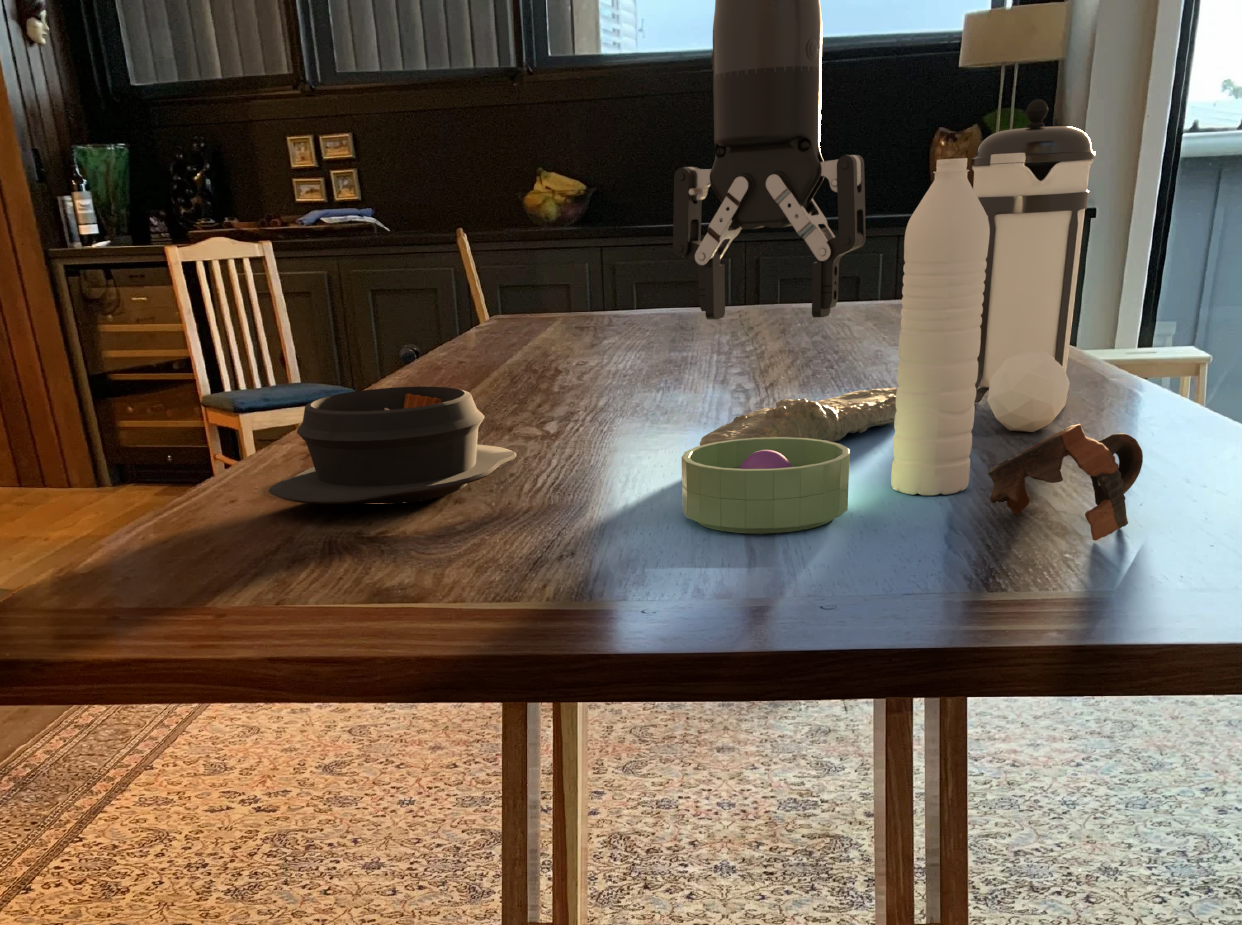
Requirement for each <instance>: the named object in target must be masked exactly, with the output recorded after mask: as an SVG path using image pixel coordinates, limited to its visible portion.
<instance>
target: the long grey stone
mask: <svg viewBox="0 0 1242 925" xmlns="http://www.w3.org/2000/svg"><path fill="white" fill-rule="evenodd" d="M897 389H898V387H889V388H872V389H868V390H856V391H855V390H854V391H850V392H848V393H843V394H841V395H839V396H835V397H830V398H824V399H820V400H816V401H814V400H807V399H806V398H805V397H803V398H801V399H799V398H796V399H790V398H785V399H780V400H778V401H775V406H776V407H770V408H765V407H764V408H763V407H762V408H760V409H757V410H754V411H752V412H749V413H746V414H742V415H739V416H735V417H734V418H733V420H732V421H731V422H728V423H726V424H724V425H721V426H720V427H718V428H716V429H714V430H713V431H710V432H709V433H707V434H705V435H704V436H702V437H701V440H700V441H699V446H702V445H706V444H710V443H714V442H721V441H728V440H735V439H748V438H767V437H791V438H810V439H818V440H826V441H830V442H834V443H835V442H839V441H841V439H843V438H845V437H846V436H847V434H848V433H851V434H854V433H859V434H862V433H864V432H866V431H867V430H868V429H869V428H871V427H872V428H873V427H876V426H877V427H881V426H884V425H889V424H894V421H895V414H896V411H897V410H896V391H897Z"/></svg>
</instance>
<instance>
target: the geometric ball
mask: <svg viewBox="0 0 1242 925" xmlns="http://www.w3.org/2000/svg"><path fill="white" fill-rule="evenodd" d="M1070 385H1071V382H1070V379H1069V377H1068V375H1067V371H1066V372H1065V370H1064V368H1063V367H1062V366H1061V365H1060V364H1059V363H1058V362H1057V361H1056V360H1055V359H1054V358H1053V357H1052V356H1051V355H1050V354H1049V353H1048V352H1036V351H1022V352H1020V353H1018V354H1016V355H1014V356H1012V357H1010V358H1007V359H1006V360H1005V361H1004V362H1003V364H1002V365H1001V366H1000V367H999V369H998V370H997V371H996V372H995V374H994V375H993V376H992V377H991V381H990V387H989V390H988V391H987V392H988V393H987V399H986V402H987V404H988V406H989V407H990V410H991V412H992V414H993V415H994V417H995V419H996V420H997V421H998V422H999V423H1000V424H1001V425H1003V426H1004V427H1005V429H1007V430H1009V431H1011V432H1012V431H1013V432H1024V433H1025V432H1026V433H1034V432H1037V431H1038V430H1040V429H1043V428H1044V427H1047V426H1048V425H1051V423H1052V422H1053V421H1054V420H1055V419H1056V418H1057V417H1058V415H1059V414H1060V413H1061V412H1062V410H1063V409H1064V408H1065V407H1066V404H1067V399H1068V395H1069V391H1070V390H1069V389H1070ZM1067 394H1068V395H1067Z"/></svg>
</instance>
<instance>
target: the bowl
mask: <svg viewBox="0 0 1242 925" xmlns="http://www.w3.org/2000/svg"><path fill="white" fill-rule="evenodd" d="M761 450H772V451H776V452H778V453H780V454H782V455H783V456H784V457H785V458H786V459H787V460H788V461H789V462H790V464H791V466H792V467H788V468H776V469H739V468H740V466H741V464H742V463H743V461H744V460H745V459H746V458H747V457H748V456H750V455H751V454H753V453H755V452H757V451H761ZM850 454H851V450H850V447H849V448H848V447H847V446H845V444H844V445H843V444H842V443H838V442H835V441H834V442H830V441H826V440H818V439H810V438H791V437H767V438H748V439H735V440H728V441H721V442H714V443H710V444H706V445H702V446H700V445H697V446H695V447H692V448H691V449H688V450H686V451H684V453H683V454H682V456H681V492H682V493H681V495H682V497H681V498H682V514H684V515H685V517H686V518H687V519H689V520H692V521H693V522H696V523H697V524H699V525H700V526H702V527H705V528H707V529H711V530H714V531H719V532H725V531H726V533H736V534H753V535H755V534H756V535H758V534H759V535H761V534H763V535H764V534H765V535H766V534H782V533H792V532H800V531H804V530H805V531H806V530H810V529H814V528H818V527H821V526H824V525H826V524H828V523H830V522H832V521H833V520H834V519H836V518H838V517H841V516H842V515H844V513H846V512H847V511H848V509H849V508H848V507H849V480H850Z"/></svg>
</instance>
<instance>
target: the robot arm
mask: <svg viewBox="0 0 1242 925" xmlns="http://www.w3.org/2000/svg"><path fill="white" fill-rule="evenodd" d="M822 18H823V16H822V7H821V0H715V3H714V13H713V22H712V52H711V61H710V62H711V69H712V73H713V74H712V85H713V86H712V90H713V91H712V92H713V141H714V142H713V143H714V149H715V157H714V162H713V165H712V166H711V167H712V168H699V167H697V166H684V167H679V168H677V169H676V170H675V172H674V175H673V216H672V217H673V218H672V220H673V221H672V252H673V254H674V255H675V257H677V258H684V259H687V260H690V261H692V262H693V263H694V264H695V265H696V267H697V271H698V272H697V275H698V276H697V277H698V306H699V308H700V311H701V312H705V318H706V320H709V321H710V320H719V319H723V318H724V317H725V314H726V283H725V282H726V280H725V276H726V275H725V269H726V268H725V264H721V260H722V258H723V256H724V255H725V253H726V252H727V250H728V248H729V247H730V245H731V243H732V242H733V240H734V239H735V238H737V237H738V235H739V234H740V233H741V230H743V231H744V230H757V229H762V228H765V227H766V228H770V229H783V228H789V227H792V228H793V229H794V230H795V232H796V234H797V235H798V236H799V237H801V238H802V239H803V240H804V242H805V243H806V245H807V246H808V248H809V250H810V251H811V252H812V255H814V258H816V261H815V262H812V272H811V273H812V274H811V275H812V276H811V316H812V318H815V319H817V318H825V317H828V316H830V314H831V309H832V308H835V307H836V306H837V304H838V300H839V281H840V280H839V276H840V262H841V261H840V260H841V259H842V257H843V256H844V255H845V254H847V253H849V252H852V251H855V250H857V249H860V248H862V247H863V246H864V245H865V243H866V237H867V236H866V231H867V230H866V186H865V184H866V180H865V160H864V158H863V157H862V155H859V154H845V155H842V156H840V157H839V158H837V159H836V158H835V159H829V160H824V158H823V156H822V153H821V148H820V147H821V146H820V142H821V120H822V114H821V110H822V64H823V63H822V57H823V19H822ZM825 179H827V180H828V183H829V187H830V189H831V191H832V192H834V193H837V194H836V195H837V227H838V235H837V236H836V235H835V234H834V232H833V231H832V229H831V228H830V227H829V225H828V224H829V223H828V220H827V218H826V216H825V215H824V213H823V211H822V210H821V209H820V207H819V206H818V204H817V203H816V201H815V199H814V197H815V195H816V194H817V191H818V190H819V189H820V187H821V185H822V184H823V181H824V180H825ZM710 187H711V188H712V190H713V191H714V192H715V194H716V196H717V198H718V199H719V201H720V202H721V204H720V206H719V208H718V209H717V211H716V212H715V214H714V216H713V218H711V221H710V222H709V224H708V227H707V231H706V234H705V235H704V237H703V239H702V206H703V204H702V203H703V200H705V199H706V198H707V196H708V192H709V189H710ZM701 239H702V240H701Z"/></svg>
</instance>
